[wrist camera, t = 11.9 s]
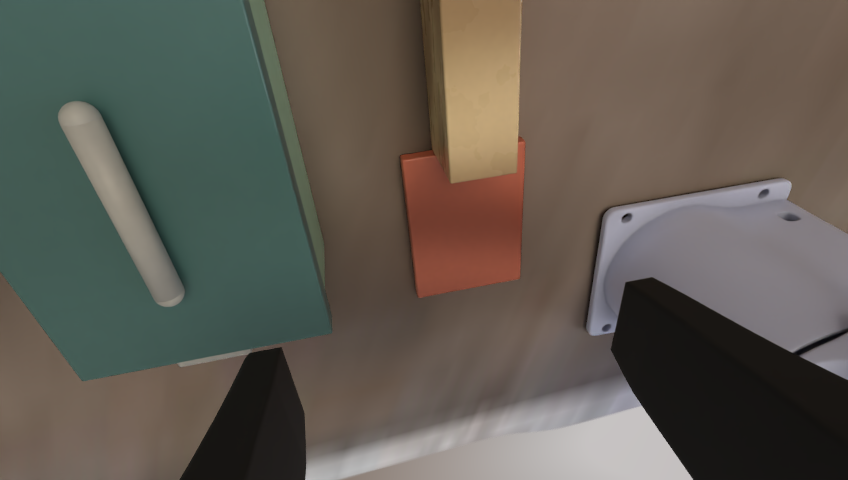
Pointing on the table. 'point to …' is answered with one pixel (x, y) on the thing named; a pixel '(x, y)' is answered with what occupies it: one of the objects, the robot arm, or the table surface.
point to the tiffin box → (154, 183)
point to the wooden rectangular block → (468, 149)
